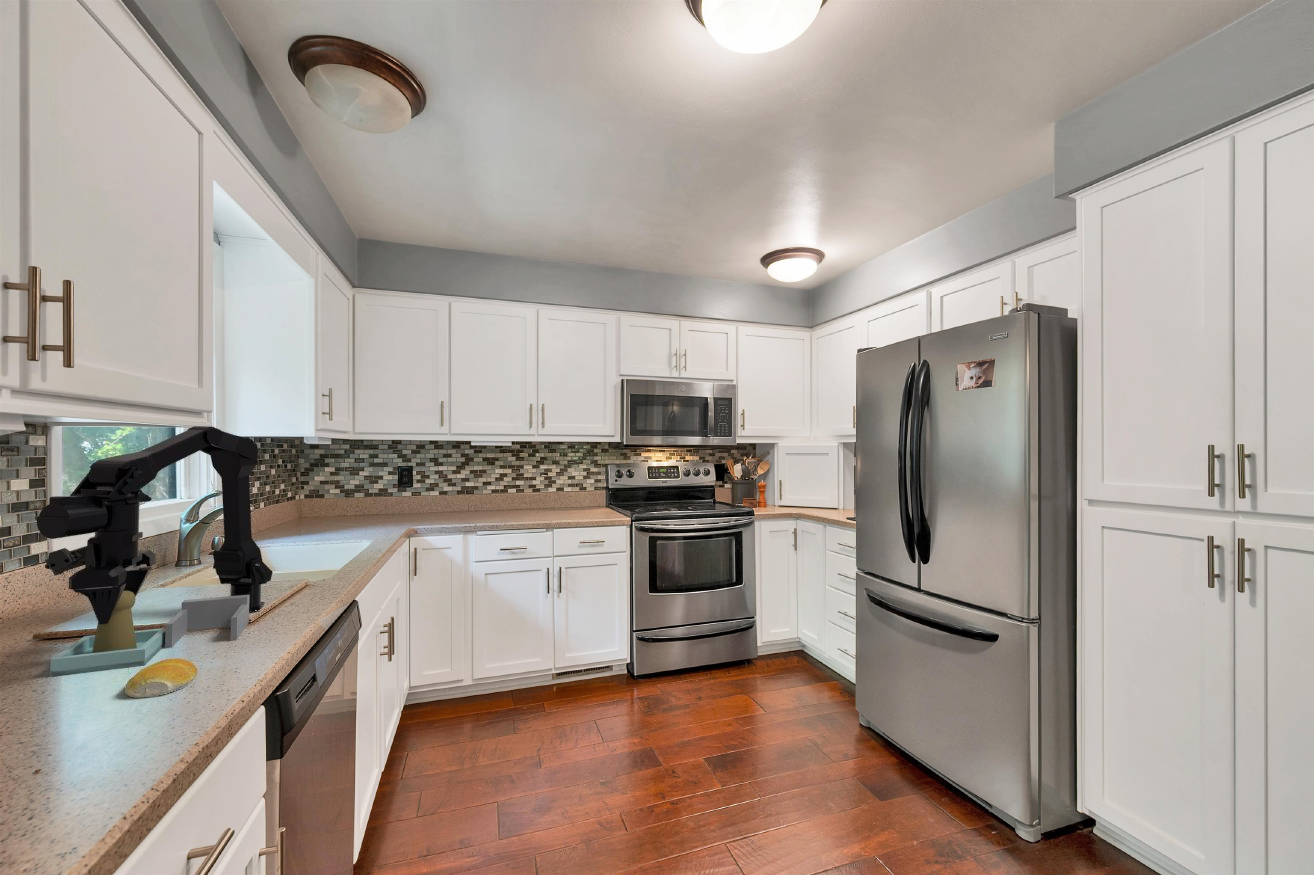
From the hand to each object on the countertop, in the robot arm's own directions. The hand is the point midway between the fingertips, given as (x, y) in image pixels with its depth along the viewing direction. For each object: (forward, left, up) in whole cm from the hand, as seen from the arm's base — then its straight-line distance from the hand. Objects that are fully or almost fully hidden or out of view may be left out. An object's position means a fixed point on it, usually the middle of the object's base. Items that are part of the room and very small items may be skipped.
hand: (115, 616), depth 101 cm
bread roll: (+17, +11, -8) cm, 22 cm away
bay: (-8, +12, -8) cm, 16 cm away
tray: (0, 0, -8) cm, 8 cm away
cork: (0, 0, -7) cm, 7 cm away
